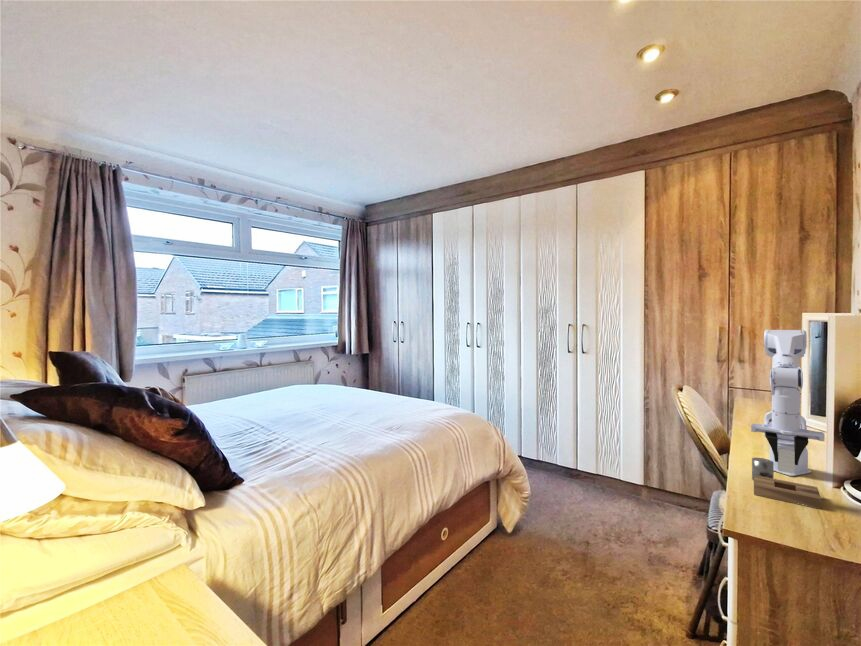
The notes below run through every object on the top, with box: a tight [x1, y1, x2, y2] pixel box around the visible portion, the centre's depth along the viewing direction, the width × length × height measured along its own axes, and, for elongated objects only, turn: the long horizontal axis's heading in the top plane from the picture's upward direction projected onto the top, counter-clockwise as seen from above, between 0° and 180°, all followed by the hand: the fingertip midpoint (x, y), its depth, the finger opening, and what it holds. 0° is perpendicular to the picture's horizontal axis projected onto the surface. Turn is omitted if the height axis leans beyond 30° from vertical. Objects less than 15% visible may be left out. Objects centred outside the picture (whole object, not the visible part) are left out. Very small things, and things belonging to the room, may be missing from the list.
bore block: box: [753, 475, 823, 510], centre depth 104 cm, size 9×13×2 cm
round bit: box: [751, 457, 775, 481], centre depth 114 cm, size 5×5×6 cm
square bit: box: [778, 446, 795, 474], centre depth 104 cm, size 3×3×6 cm
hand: (785, 462), depth 104 cm, fingers closed on square bit, 3 cm apart
